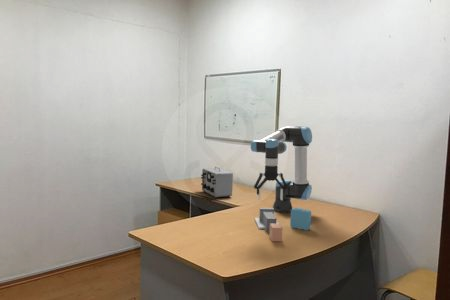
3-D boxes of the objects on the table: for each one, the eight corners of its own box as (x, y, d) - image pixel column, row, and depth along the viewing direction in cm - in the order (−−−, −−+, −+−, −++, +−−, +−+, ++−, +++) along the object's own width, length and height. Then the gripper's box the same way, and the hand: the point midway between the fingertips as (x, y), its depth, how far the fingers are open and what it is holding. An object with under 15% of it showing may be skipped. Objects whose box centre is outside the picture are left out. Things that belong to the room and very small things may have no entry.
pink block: (279, 236, 194) (279, 223, 193) (282, 241, 186) (282, 227, 185) (269, 236, 194) (269, 223, 193) (271, 241, 186) (272, 227, 185)
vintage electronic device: (200, 191, 313) (200, 165, 311) (217, 190, 320) (218, 164, 318) (213, 199, 284) (213, 170, 282) (232, 197, 292) (232, 169, 290)
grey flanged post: (274, 220, 228) (275, 206, 227) (282, 231, 204) (283, 216, 203) (254, 219, 227) (255, 206, 226) (259, 231, 203) (260, 215, 202)
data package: (310, 229, 210) (311, 210, 209) (308, 231, 206) (309, 212, 205) (292, 225, 217) (293, 207, 215) (290, 227, 213) (290, 209, 212)
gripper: (290, 164, 203) (289, 198, 205) (249, 164, 201) (249, 198, 203) (293, 166, 195) (292, 201, 198) (251, 165, 194) (250, 201, 196)
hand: (270, 199), depth 201 cm, fingers open, 13 cm apart
